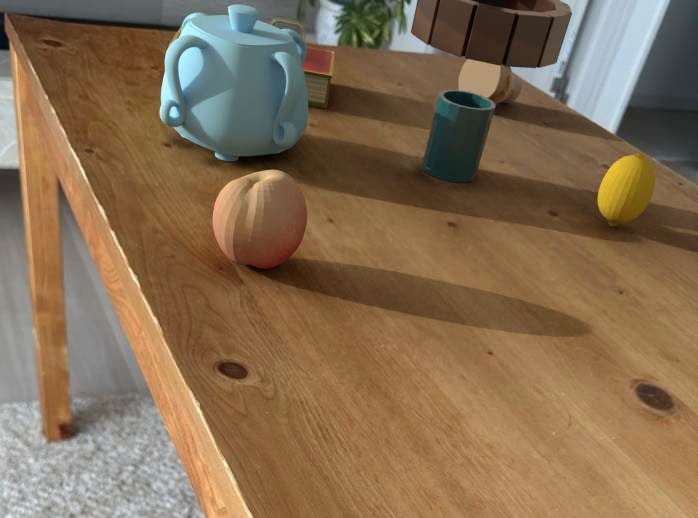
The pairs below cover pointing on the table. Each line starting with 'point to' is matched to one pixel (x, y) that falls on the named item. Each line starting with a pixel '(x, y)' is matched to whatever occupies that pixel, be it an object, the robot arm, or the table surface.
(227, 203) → the fruit
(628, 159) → the lemon
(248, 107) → the decorative pot
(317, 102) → the hardcover book
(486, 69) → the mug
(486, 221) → the table surface
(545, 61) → the ring
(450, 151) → the tumbler
